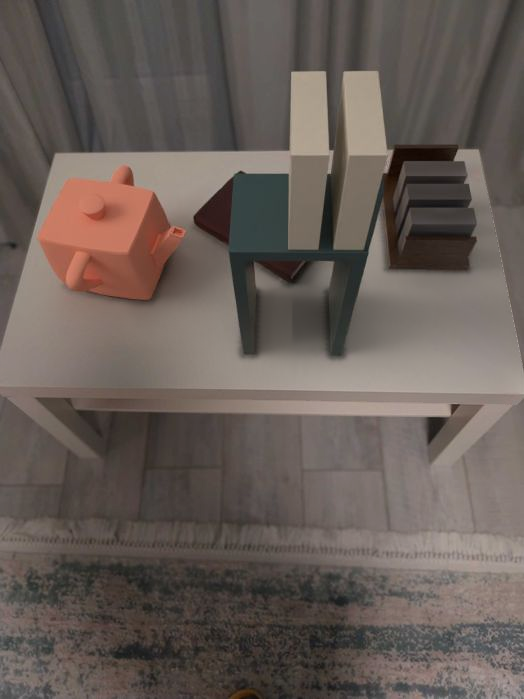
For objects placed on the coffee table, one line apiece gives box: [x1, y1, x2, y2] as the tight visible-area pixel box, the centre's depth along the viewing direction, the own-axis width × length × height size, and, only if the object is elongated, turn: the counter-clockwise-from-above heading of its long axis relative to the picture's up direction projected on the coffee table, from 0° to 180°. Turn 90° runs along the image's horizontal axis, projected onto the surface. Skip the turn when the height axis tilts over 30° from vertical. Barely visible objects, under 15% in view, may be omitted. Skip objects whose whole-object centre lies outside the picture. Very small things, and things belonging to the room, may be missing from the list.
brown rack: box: [381, 143, 478, 270], centre depth 77 cm, size 19×12×9 cm, turn 178°
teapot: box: [36, 165, 187, 301], centre depth 72 cm, size 20×22×14 cm
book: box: [192, 170, 310, 283], centre depth 79 cm, size 12×19×3 cm, turn 53°
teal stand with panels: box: [227, 70, 389, 356], centre depth 57 cm, size 14×11×36 cm
